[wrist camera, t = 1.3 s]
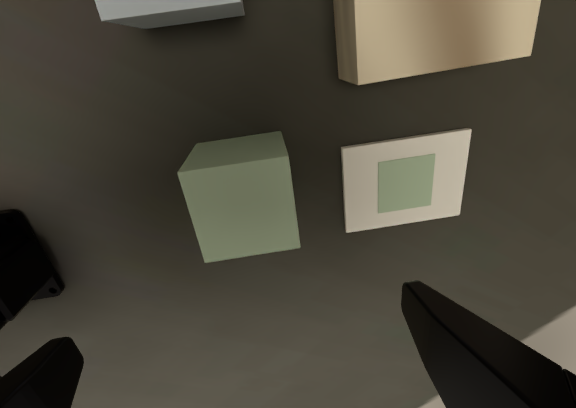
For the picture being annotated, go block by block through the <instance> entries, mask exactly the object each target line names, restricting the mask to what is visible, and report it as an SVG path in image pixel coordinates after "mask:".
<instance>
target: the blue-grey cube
mask: <svg viewBox="0 0 576 408" xmlns="http://www.w3.org/2000/svg"><path fill="white" fill-rule="evenodd" d="M95 3H96V6H97V9H98V12H99V15H100V18H101V21H105V22H110V23H116V24H121V25H126V26H132V27H137V28H142V29H150V28H157V27H164V26H172V25H179V24H186V23H193V22H201V21H208V20H215V19H222V18H230V17H237V16H244V15H245V13H244V6H243V0H95Z"/></svg>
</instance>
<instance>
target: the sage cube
mask: <svg viewBox="0 0 576 408" xmlns="http://www.w3.org/2000/svg"><path fill="white" fill-rule="evenodd" d="M177 174H178V177H179V180H180V183H181V187H182V190H183V193H184V196H185V200H186V203H187V206H188V210H189V213H190V216H191V219H192V223H193V226H194V229H195V232H196V236H197V239H198V242H199V245H200V249H201V252H202V255H203V259H204V262H205V263H208V262H214V261H221V260H227V259H233V258H240V257H246V256H252V255H258V254H265V253H271V252H277V251H284V250H290V249H296V248H301V247H300V239H299V232H298V224H297V216H296V209H295V201H294V193H293V186H292V178H291V170H290V163H289V156H288V152H287V149H286V146H285V143H284V139H283V136H282V133H281V131H277V132H270V133H263V134H257V135H250V136H243V137H236V138H230V139H223V140H216V141H209V142H203V143H196V145H195V146H194V148H193V149H192V151H191V152H190V154H189V155H188V157H187V159H186V160H185V162H184V163H183V165H182V166H181V168H180V169H179V171H178V172H177Z"/></svg>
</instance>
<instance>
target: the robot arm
mask: <svg viewBox="0 0 576 408" xmlns="http://www.w3.org/2000/svg"><path fill="white" fill-rule="evenodd" d="M10 217H12V218H13V219H14V220H15V221H14V220H12V219H11V218H10ZM54 288H55V289H54ZM63 290H64V285H63V284H62V282H61V280H60V278H59V277H58V275H57V273H56V272H55V270H54V268H53V266H52V265H51V263H50V261H49V260H48V258H47V256H46V254H45V253H44V251H43V249H42V248H41V246H40V244H39V242H38V241H37V239H36V237H35V236H34V234H33V232H32V231H31V229H30V227H29V225H28V224H27V222H26V220H25V219H24V217H23V215H22V214H21V213H20V212H18V211H15V210H7V211H0V330H1V329H2V328H3V327H4V326H5V324H6V323H7V322H8V321H11V320H13V319H14V318H15V317H16V316H17V315H18V314H19V312H20V311H21V310H22V309H23V308H24V307H25V306H26V305H27V304H28V302H29V301H30V300H36V299H42V298H48V297H54V296H58V295H60V294H61V293H62V291H63ZM401 307H402V312H403V315H404V317H405V320H406V322H407V325H408V327H409V329H410V332H411V334H412V337H413V339H414V342H415V344H416V347H417V349H418V352H419V354H420V357H421V359H422V361H423V364H424V366H425V368H426V370H427V372H428V374H429V376H430V378H431V380H432V382H433V384H434V386H435V388H436V390H437V391H438V393H439V395H440V397H441V399H442V401H443V403H444V405H445V407H446V408H576V375H575V374H573V373H571V372H570V371H568V370H566V369H563V370H562V367H561V366H560V365H558V364H556V363H555V362H553V361H551V360H550V359H548V358H546V357H545V356H543V355H541V354H540V353H538V352H536V351H535V350H533V349H531V348H530V347H528V346H527V345H525V344H523V343H522V342H520V341H518V340H517V339H515V338H513V337H512V336H510V335H508V334H507V333H505V332H503V331H502V330H500V329H498V328H497V327H495V326H493V325H492V324H490V323H489V322H487V321H485V320H484V319H482V318H480V317H479V316H477V315H475V314H474V313H472V312H470V311H469V310H467V309H465V308H464V307H462V306H460V305H459V304H457V303H455V302H454V301H452V300H450V299H449V298H447V297H446V296H444V295H442V294H441V293H439V292H437V291H436V290H434V289H432V288H431V287H429V286H427V285H426V284H424V283H422V282H421V281H418V280H415V281H409V282H405V283H403V286H402V300H401ZM83 364H84V360H83V356H82V354H81V353H80V351H79V349H78V348H77V346H76V345H75V343H74V341H73V340H72V339H71V338H70V337H62V338H55V339H52V340H50V341H48V342H47V343H46V344H44V345H43V346H42V347H41V348H39V349H38V350H37V351H35V352H34V353H33V354H31V355H30V356H29V357H28V358H26V359H25V360H24V361H22V362H21V363H20V364H18V365H17V366H16V367H15V368H13V369H12V370H11V371H9V372H8V373H7V374H5V375H4V376H3V377H1V376H0V408H71V405H72V402H73V398H74V395H75V392H76V388H77V385H78V382H79V378H80V375H81V372H82V369H83Z"/></svg>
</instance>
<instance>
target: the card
mask: <svg viewBox="0 0 576 408" xmlns="http://www.w3.org/2000/svg"><path fill="white" fill-rule="evenodd" d="M471 131H472V129H470V128H463V129H456V130H450V131H443V132H436V133H430V134H423V135H417V136H410V137H403V138H397V139H390V140H383V141H377V142H370V143H364V144H357V145H350V146H344V147H341V163H342V182H343V202H344V222H345V231H346V233H350V232H356V231H362V230H368V229H375V228H381V227H387V226H394V225H400V224H406V223H413V222H419V221H425V220H432V219H438V218H444V217H450V216H457V215H460V209H461V202H462V195H463V188H464V180H465V173H466V166H467V159H468V152H469V145H470V138H471Z"/></svg>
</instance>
